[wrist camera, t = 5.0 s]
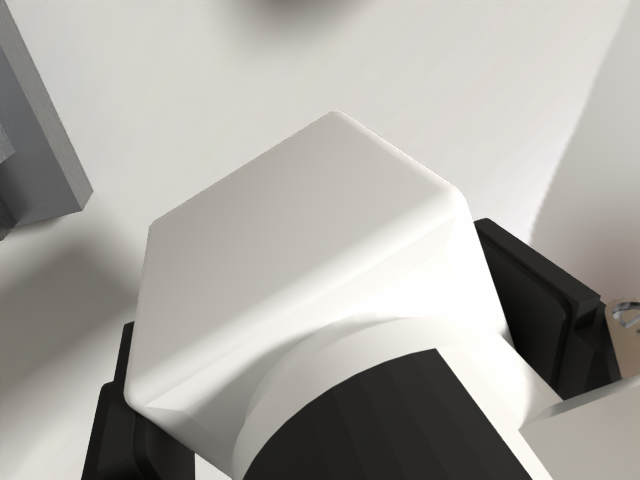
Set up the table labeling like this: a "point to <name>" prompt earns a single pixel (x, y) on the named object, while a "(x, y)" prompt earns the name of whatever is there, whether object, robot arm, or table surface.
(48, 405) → the table surface
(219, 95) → the table surface
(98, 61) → the table surface
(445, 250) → the medicine bottle
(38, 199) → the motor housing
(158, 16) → the table surface
